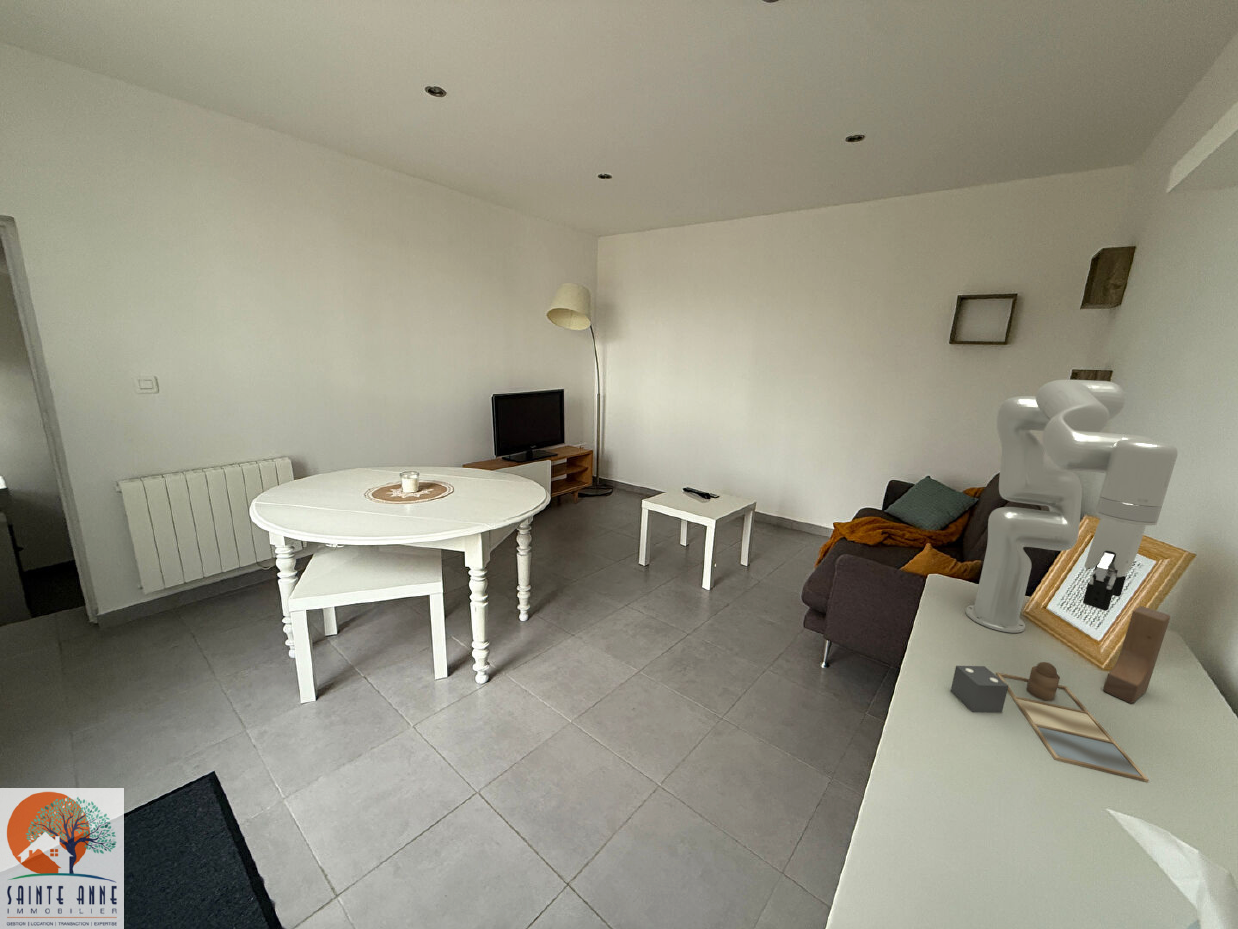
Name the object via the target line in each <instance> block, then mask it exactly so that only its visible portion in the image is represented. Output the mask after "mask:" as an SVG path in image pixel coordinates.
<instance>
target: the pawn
mask: <svg viewBox="0 0 1238 929" xmlns="http://www.w3.org/2000/svg"><path fill="white" fill-rule="evenodd" d="M1028 679H1029V681H1028V682H1027V686H1026V691H1027V693H1028V694H1029V695H1030V696H1032V697H1034V698H1035V699H1036V698H1037V699H1039V700H1040V701H1043V702H1054V700H1055V698H1056V694H1057V690H1058V688H1057V687H1058V685H1060V681H1061V680H1060V679H1061V677H1060V675H1059V674H1058V670H1057V669H1056V667H1055V666H1054V665H1053V664H1052V663H1050V662H1046V661H1042V662H1039V663H1037V664H1036V666H1034V665H1033V666H1032V667H1031V669H1030V674H1029V677H1028Z"/></svg>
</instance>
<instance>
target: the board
mask: <svg viewBox="0 0 1238 929" xmlns="http://www.w3.org/2000/svg"><path fill="white" fill-rule="evenodd" d="M995 675H996V676H997V677H998V678H1000V679H1001V680H1002V681H1003V682H1004V683H1006V684H1007V685H1008V683H1007V682H1006V680H1005V679H1004V678H1007V679H1012V680H1016V681H1022V682H1027V683H1028V681H1029V678H1026V677H1022V676H1017V675H1012V674H1007V673H1002V672H998V671H997V672H995ZM1057 689H1061V690H1064V691H1065V692H1066V693H1067V694H1068V696H1069V697H1070V698H1071V699H1072V700H1073V701H1074V703H1075V704H1076V705H1077V706H1078V708H1080V709H1077V708H1073V707H1067V706H1064V705H1063V706H1062V705H1058V704H1054V703H1050V702H1049V703H1048V702H1046V701H1041V700H1035V699H1030V698H1024V697H1021V696H1016V695H1015V694H1014V692H1013V690H1012V689H1011V687H1010V686H1009V685H1008V690H1007V693H1009V695H1010V696H1011V698H1012V700H1013V701H1014V702H1015V704H1016V706H1017V707H1018V708H1019V710H1020V711H1021V713H1022V714H1023V716H1024V717H1025V718H1026V720H1027V722H1028V723H1029V724H1030V726H1031V727H1032V729H1033V730H1034V731H1035V733H1036V735H1037V736H1038V737H1039V739H1040V740H1041V742H1042V743H1043V745H1044V746H1045V747H1046V749H1047V750H1048V752H1049V753H1050V755H1051V757H1052V758H1053V759H1054V760H1055V761H1059V762H1063V763H1067V764H1071V765H1076V766H1080V767H1082V768H1083V767H1084V768H1088V769H1092V770H1096V771H1100V772H1104V773H1108V774H1112V775H1116V776H1120V777H1125V778H1128V779H1133V780H1137V781H1141V782H1145V783H1149V781H1150V780H1149V778H1148V777H1147V776H1146V775H1145V774H1144V773H1143V771H1142V770H1141V769H1140V768H1139V767H1138V766H1137V765H1136V763H1134V761H1133V759H1131V758H1130V757H1129V756H1128V754H1126V752H1125V751H1124V750H1123V749H1122V747H1121V746H1120V745H1119V744H1118V743H1117V742H1116V741H1115V739H1113V737H1112V736H1111V735H1110V734H1109V733H1108V731H1106V730H1105V729H1104V727H1103V726H1102V725H1101V724H1100V723H1099V721H1098V720H1097V719H1096V718H1095V717H1094V716H1093V715H1092V714H1091V713H1090V712H1089V710H1088V709H1087V708H1086V707H1085V706H1084V705H1083V703H1082V702H1081V701H1080V699H1078V698H1077V696H1075V694H1074V693H1073V692H1072V691H1071V690H1070V688H1069V687H1068V686H1066V685H1060V684H1058V687H1057Z"/></svg>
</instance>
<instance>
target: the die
mask: <svg viewBox="0 0 1238 929" xmlns="http://www.w3.org/2000/svg"><path fill="white" fill-rule="evenodd" d="M1006 683H1007V682H1006ZM1006 683H1004V682H1003V681H1002V680H1001V679H1000V678H998V676H997V675H996V673H993V672H992V671H991V670H990V669H989V668H988V667H986V666H985V665H984V666H983V665H955V668H954V674H953V678H952V683H951V688H950V692H951V693H952V694H953V695H954V696H955V697H956V698H957V699H958V700H959V701H960V702H962V704H963V705H964V706H965V707H966V708H967V709H968V710H969V711H970V712H972V713H1003V711H1004V710H1003V709H1004V705H1005V703H1006V702H1005V701H1006V699H1007V693H1008V691H1007V690H1008V686H1009V684H1008V683H1007V684H1006Z"/></svg>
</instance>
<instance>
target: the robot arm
mask: <svg viewBox="0 0 1238 929" xmlns="http://www.w3.org/2000/svg"><path fill="white" fill-rule="evenodd" d="M1125 403H1126V394H1125V391H1124V389H1123V388H1122V387H1121V386H1120V385H1119V384H1117V383H1115V382H1112V381H1108V380H1088V379H1087V380H1086V379H1085V380H1084V379H1057V380H1053V381H1049V382H1047V383H1044V384H1043V385H1042V386H1041V387H1039V389H1038V390H1037V391H1036V394H1035V395H1025V396H1022V395H1021V396H1019V395H1018V396H1014V397H1010V398H1007V399H1006V400H1004V401H1003V402H1002V403H1001V404H1000V406H999V408H998V412H997V416H996V429H997V435H998V438H999V442H1000V445H1001V446H1000V447H1001V456H1000V468H999V477H998V478H999V479H998V480H999V481H998V491H999V493H998V494H999V495H1000V497H1001V498H1002V499H1003V500H1007V501H1009V502H1014V503H1020V504H1021V503H1022V504H1029V505H1035V506H1044V507H1045V506H1047V507H1048V509H1049V511H1047V510H1039V509H1033V508H1026V507H1024V508H1023V507H1016V506H1015V507H1014V506H1004V507H999V508H998V507H997V508H995V509H994V510H992V511H991V513H990V514H989V516H988V520H987V521H988V523H987V543H986V544H987V546H986V551H985V556H984V561H983V564H982V569H981V574H980V578H979V583H978V587H977V593H976V596H975V601H974V604H972V605H971V604H970V605H968V606H967V607H966V608H965V614H966V615H967V617H968V618H970V619H971V620H972V621H973V622H976V623H977V624H980V625H981V626H984V627H986V628H989V629H992V630H995V631H999V632H1003V633H1010V634H1013V633H1014V634H1015V633H1016V634H1019V633H1022V632H1024V631H1025V629H1026V624H1025V622H1024V621H1023V620H1022V619H1021V618H1020V616H1021V611H1022V607H1023V603H1024V599H1025V595H1026V591H1027V587H1028V583H1029V580H1030V575H1031V570H1032V560H1031V558H1030V557H1029V556H1028V554H1027V553H1026V552H1025V550H1024V548H1025V547H1026V548H1035V549H1036V548H1037V549H1044V550H1050V551H1051V550H1052V551H1059V552H1061V551H1062V552H1064V551H1069V550H1071V549H1073V548H1074V547H1075V545H1076V544H1077V541H1078V539H1079V532H1080V521H1081V510H1082V508H1081V506H1082V499H1083V498H1082V497H1083V489H1082V483H1081V481H1080V480H1081V479H1079V477H1078V476H1077V475H1076V474H1075V472H1071V471H1076V472H1077V471H1079V472H1088V473H1089V472H1090V473H1098V474H1105V475H1104V479H1103V482H1102V486H1101V490H1100V493H1099V497H1098V501H1097V503H1096V504H1097V505H1096V508H1095V512H1094V513H1095V515H1097V516H1099V517H1100V519H1099V522H1098V524H1097V526H1096V530H1095V532H1094V535H1093V538H1092V542H1091V544H1090V547H1089V551H1088V553H1087V557H1086V560H1085V563H1084V568H1085V569H1086V570H1090V569H1091V570H1093V572H1092V574H1091V576H1090V579H1089V582H1087V584H1086V585H1087V586H1086V589H1085V592H1084V596H1083V601H1082V603H1083V604H1084V605H1085V606H1089V607H1092V608H1095V609H1098V610H1102V611H1108V610H1109V608H1110V605H1111V601H1112V598H1113V596H1114V597H1118V598H1119V597H1120V596H1121V595H1122V593H1123V590H1124V585H1125V584H1126V580H1127V576H1126V574H1127V573H1128V572H1129V571H1130V570H1131V568H1132V566H1133V564H1134V562H1135V559H1136V558H1137V554H1138V551H1139V549H1140V547H1141V543H1142V539H1143V535H1144V534H1145V529H1146V526H1157V524H1158V522H1159V517H1160V514H1161V511H1162V509H1163V508H1162V507H1163V504H1164V501H1165V498H1166V495H1167V491H1168V488H1169V484H1170V481H1171V478H1172V475H1173V471H1174V469H1175V465H1176V461H1177V458H1178V449H1177V447H1176V446H1175V445H1173V444H1170V443H1167V442H1162V441H1157V440H1154V439H1152V438H1151V437H1148V436H1144V435H1137V434H1126V433H1125V434H1123V433H1116V432H1115V433H1111V432H1101V431H1102V430H1104V428H1105V427H1106V426H1107V425H1108V423H1109V421H1110V420H1112V419H1114V418H1115V417H1117V415H1119V414H1120V413H1121V412H1122V410H1123V408H1124V407H1125V405H1126V404H1125ZM1031 431H1038V432H1039V431H1041V432H1042V438H1041V439H1042V442H1041V440H1039V438H1038V437H1037V436H1036V435H1035V434H1033V432H1031ZM1045 453H1046V455H1047V456H1048V457H1049V459H1050V460H1051V461H1052V463H1054V464H1055V465H1057V466H1058V467H1060V468H1062V469H1058V468H1057V469H1056V468H1047V467H1045V465H1044V463H1045V462H1044V461H1045Z"/></svg>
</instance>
